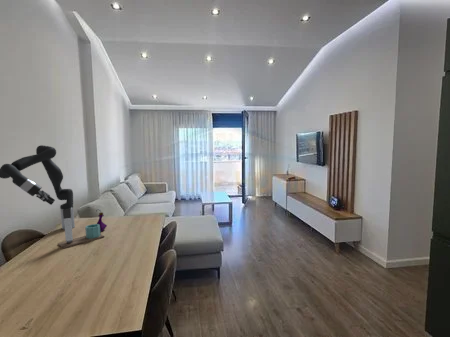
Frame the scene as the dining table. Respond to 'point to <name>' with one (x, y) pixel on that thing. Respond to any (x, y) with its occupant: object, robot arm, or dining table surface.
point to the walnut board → (78, 241)
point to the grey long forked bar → (68, 225)
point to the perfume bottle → (102, 225)
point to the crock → (92, 231)
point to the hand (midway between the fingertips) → (53, 202)
